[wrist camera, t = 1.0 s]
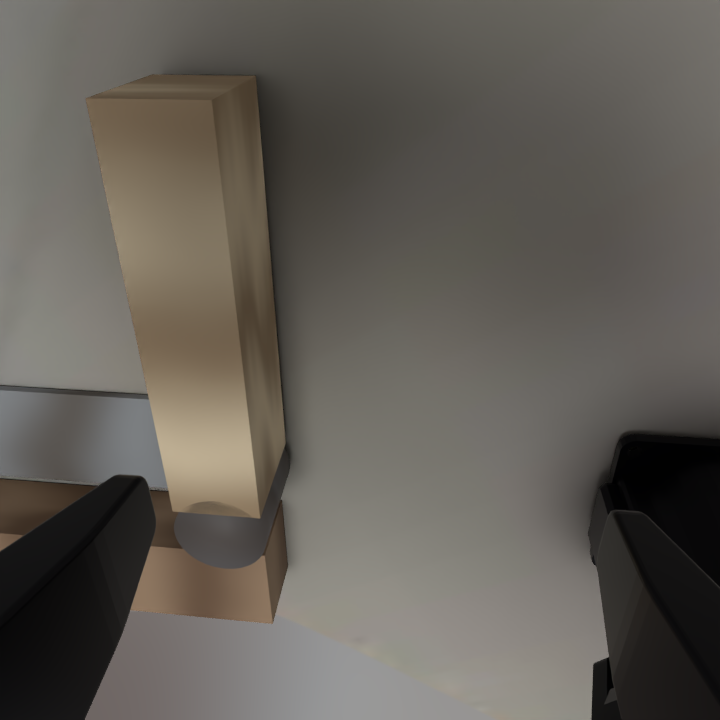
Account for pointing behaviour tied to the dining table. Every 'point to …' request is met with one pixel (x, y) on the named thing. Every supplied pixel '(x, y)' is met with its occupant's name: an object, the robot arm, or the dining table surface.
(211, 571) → the bench scraper
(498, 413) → the dining table surface
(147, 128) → the oak leg
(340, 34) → the dining table surface
